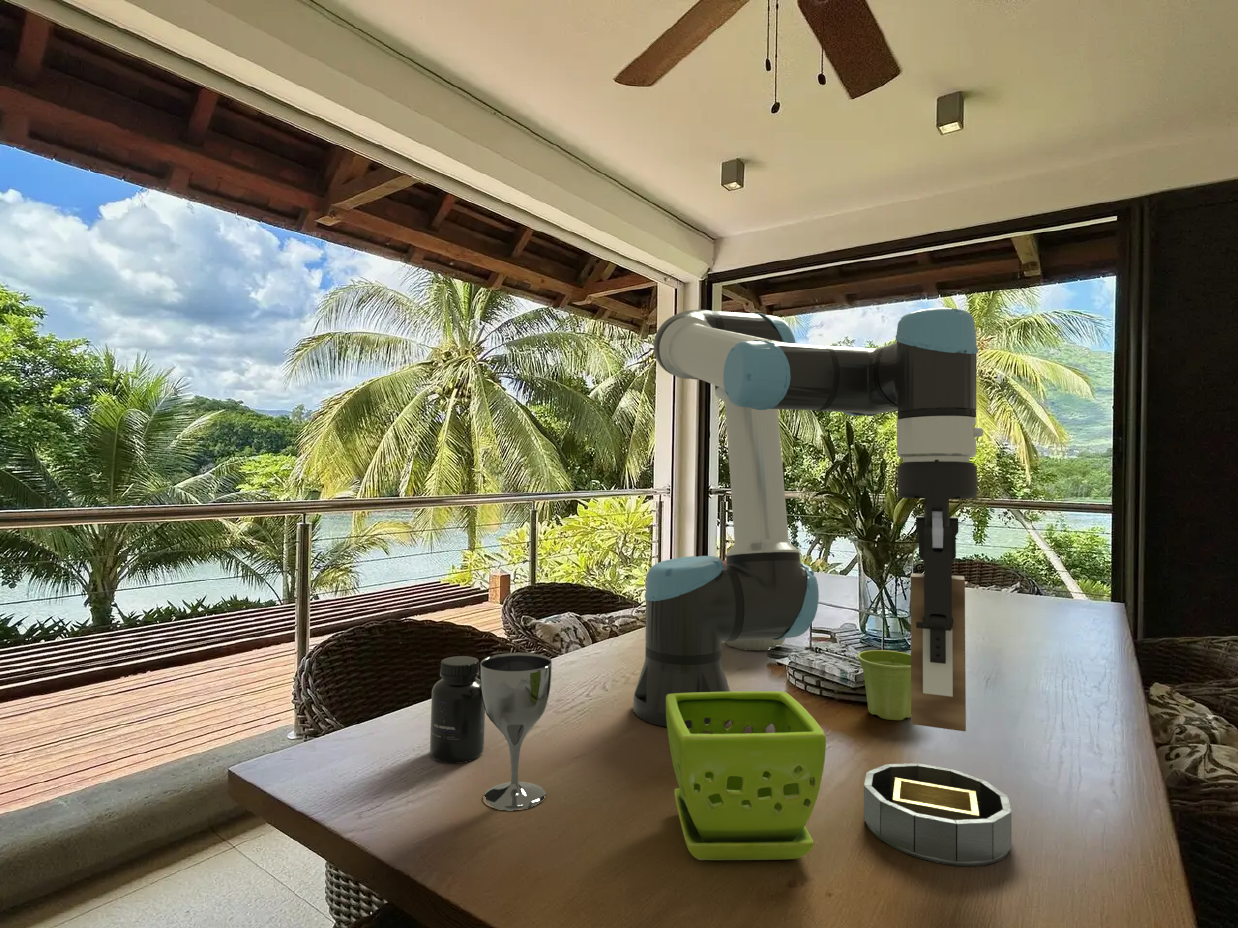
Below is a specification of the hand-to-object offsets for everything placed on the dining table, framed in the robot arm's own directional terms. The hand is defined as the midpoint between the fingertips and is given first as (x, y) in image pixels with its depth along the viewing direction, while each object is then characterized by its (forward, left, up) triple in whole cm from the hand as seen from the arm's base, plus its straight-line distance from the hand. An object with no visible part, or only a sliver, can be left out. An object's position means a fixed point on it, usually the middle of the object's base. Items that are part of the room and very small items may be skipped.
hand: (937, 688), depth 72 cm
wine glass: (-43, -12, -15) cm, 47 cm away
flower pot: (-18, -10, -15) cm, 25 cm away
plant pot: (-6, +36, -15) cm, 40 cm away
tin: (0, 0, -15) cm, 15 cm away
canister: (-35, +70, -15) cm, 80 cm away
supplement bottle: (-56, -5, -15) cm, 58 cm away
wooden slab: (0, 0, -4) cm, 4 cm away
